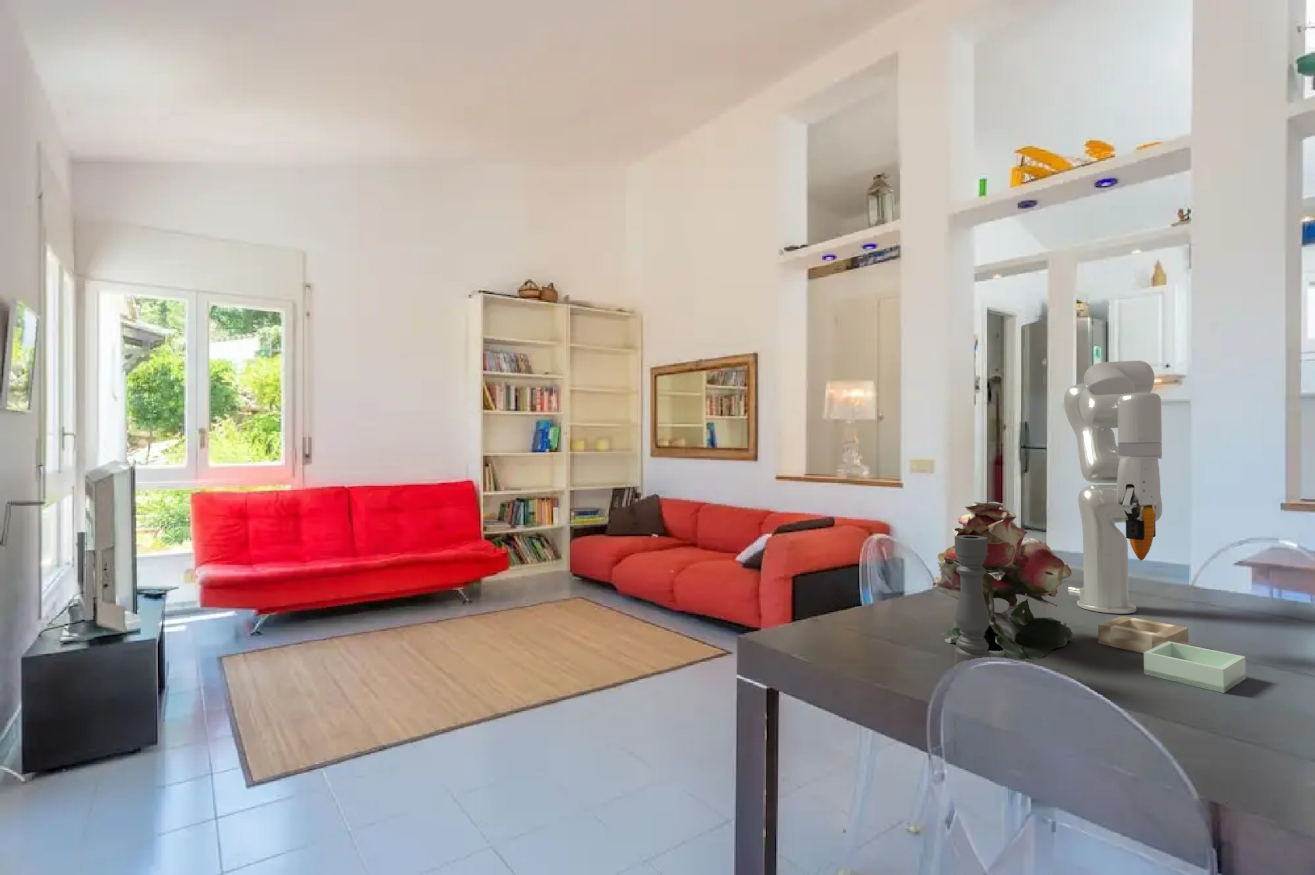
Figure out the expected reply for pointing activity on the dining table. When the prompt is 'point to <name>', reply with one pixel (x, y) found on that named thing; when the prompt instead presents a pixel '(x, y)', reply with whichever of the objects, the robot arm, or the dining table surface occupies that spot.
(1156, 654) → the tray
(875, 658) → the dining table surface
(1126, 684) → the dining table surface
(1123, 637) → the wooden stand
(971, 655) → the candle holder
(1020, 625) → the rose bouquet
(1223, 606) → the dining table surface
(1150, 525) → the carrot
